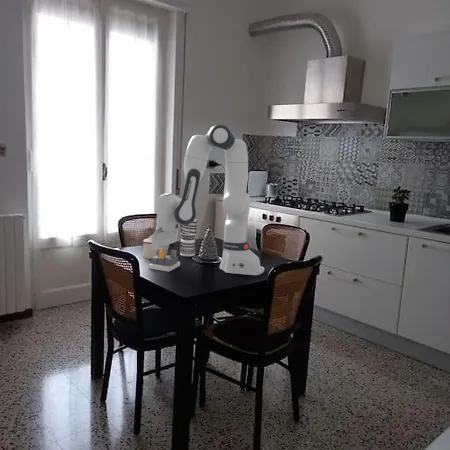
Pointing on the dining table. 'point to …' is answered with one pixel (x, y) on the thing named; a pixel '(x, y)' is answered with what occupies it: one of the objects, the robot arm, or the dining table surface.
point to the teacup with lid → (149, 248)
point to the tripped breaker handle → (162, 254)
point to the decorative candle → (188, 239)
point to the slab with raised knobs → (164, 262)
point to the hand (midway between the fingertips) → (164, 253)
